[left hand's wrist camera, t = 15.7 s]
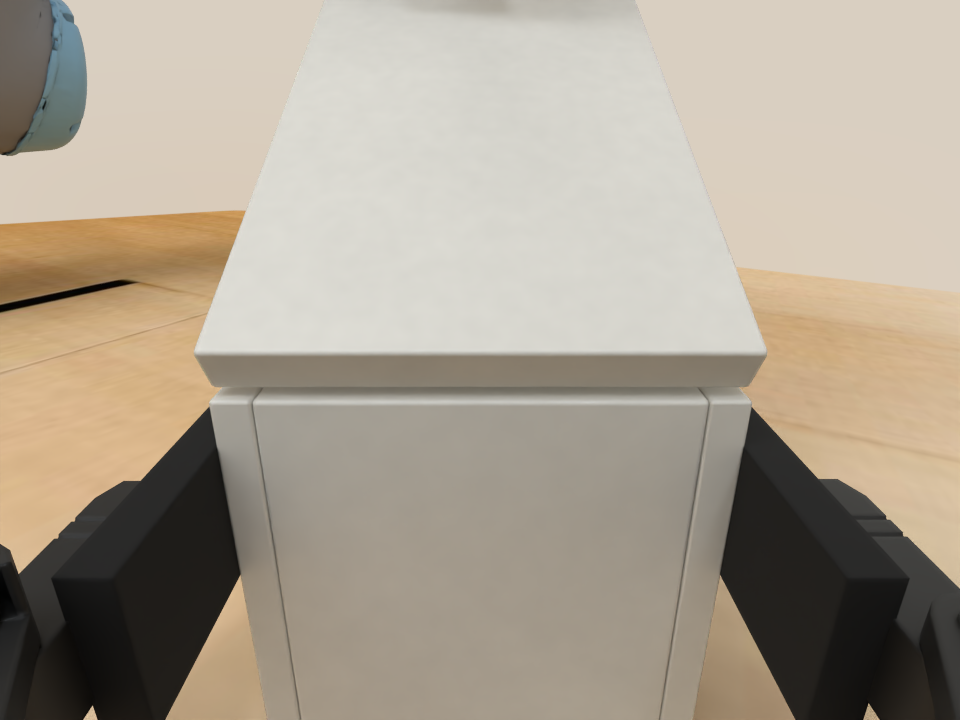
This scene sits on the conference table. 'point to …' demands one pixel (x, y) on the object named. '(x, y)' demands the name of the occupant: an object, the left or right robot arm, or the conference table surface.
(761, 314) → the conference table surface
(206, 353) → the lid
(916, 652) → the left robot arm
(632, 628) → the chest
